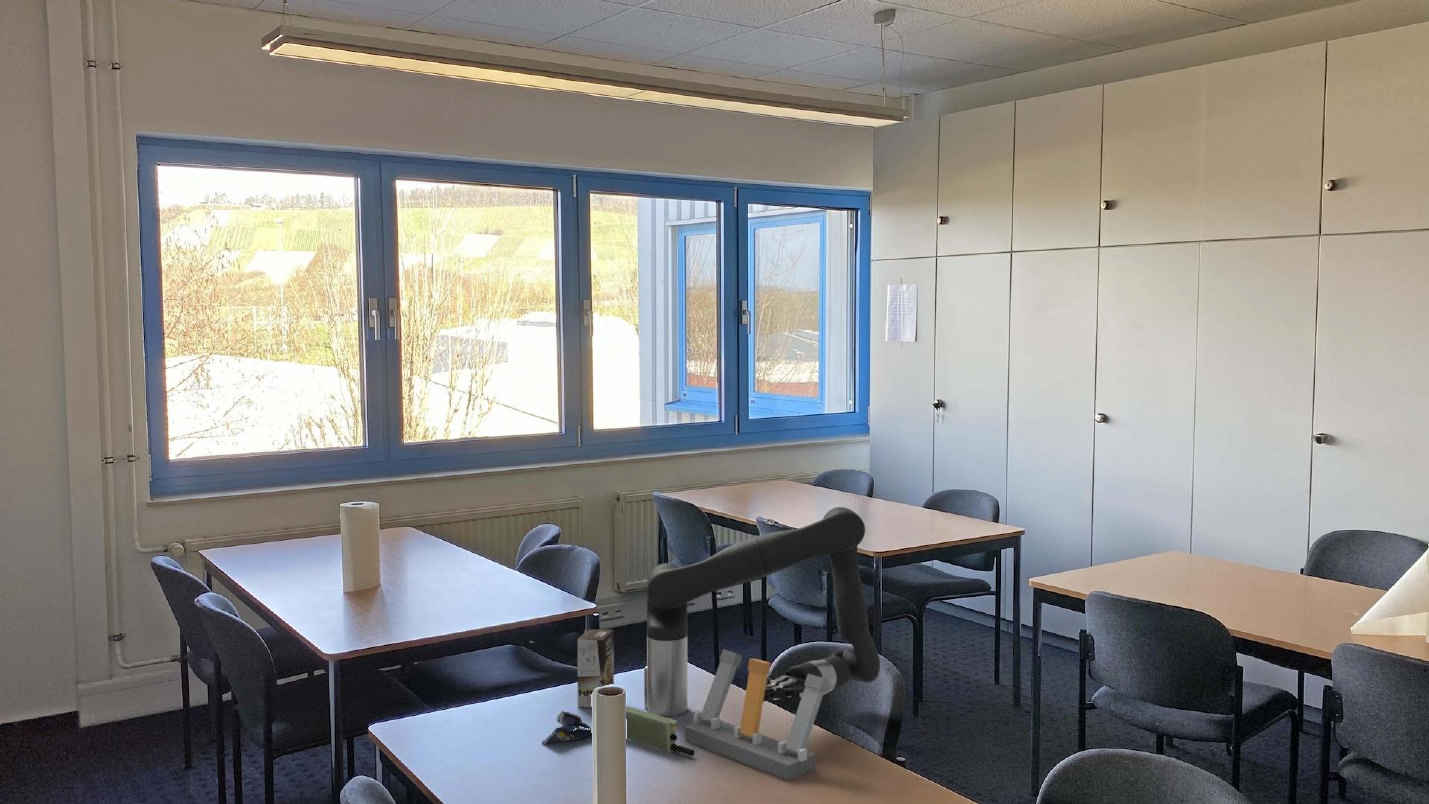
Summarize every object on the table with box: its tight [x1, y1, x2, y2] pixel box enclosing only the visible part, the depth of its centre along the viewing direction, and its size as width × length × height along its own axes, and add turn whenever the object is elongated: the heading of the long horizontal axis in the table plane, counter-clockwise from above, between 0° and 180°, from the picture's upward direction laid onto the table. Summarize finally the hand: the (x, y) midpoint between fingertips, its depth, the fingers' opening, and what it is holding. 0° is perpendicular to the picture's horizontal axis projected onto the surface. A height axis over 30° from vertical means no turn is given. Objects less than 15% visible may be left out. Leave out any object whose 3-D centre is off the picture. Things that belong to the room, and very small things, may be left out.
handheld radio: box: [625, 705, 695, 757], centre depth 221 cm, size 7×3×25 cm
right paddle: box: [785, 674, 829, 753], centre depth 209 cm, size 4×2×15 cm, turn 45°
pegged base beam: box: [684, 710, 816, 782], centre depth 215 cm, size 30×8×5 cm, turn 45°
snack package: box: [541, 710, 592, 745], centre depth 225 cm, size 12×6×12 cm
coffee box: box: [576, 628, 615, 709], centre depth 247 cm, size 9×6×16 cm
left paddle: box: [700, 648, 743, 721], centre depth 226 cm, size 4×2×15 cm, turn 45°
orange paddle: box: [740, 658, 772, 737], centre depth 216 cm, size 4×2×15 cm, turn 45°
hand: (757, 696), depth 217 cm, fingers closed
